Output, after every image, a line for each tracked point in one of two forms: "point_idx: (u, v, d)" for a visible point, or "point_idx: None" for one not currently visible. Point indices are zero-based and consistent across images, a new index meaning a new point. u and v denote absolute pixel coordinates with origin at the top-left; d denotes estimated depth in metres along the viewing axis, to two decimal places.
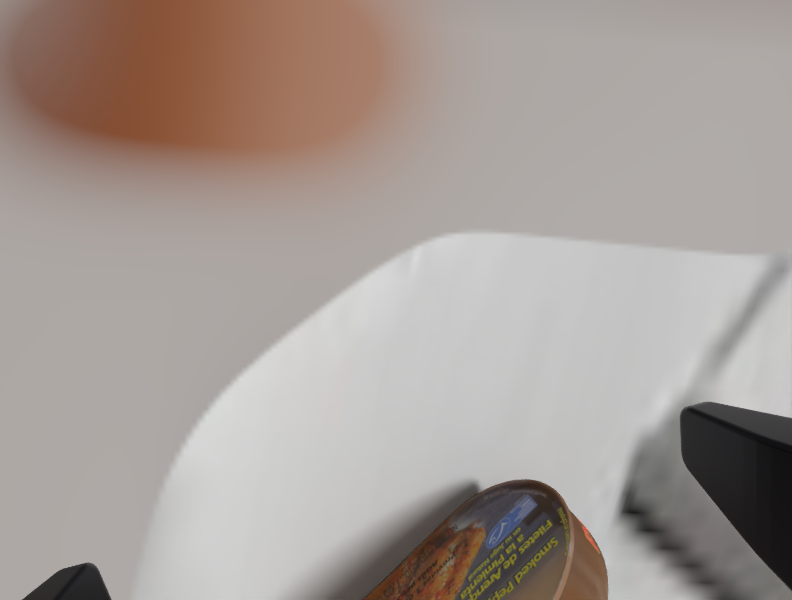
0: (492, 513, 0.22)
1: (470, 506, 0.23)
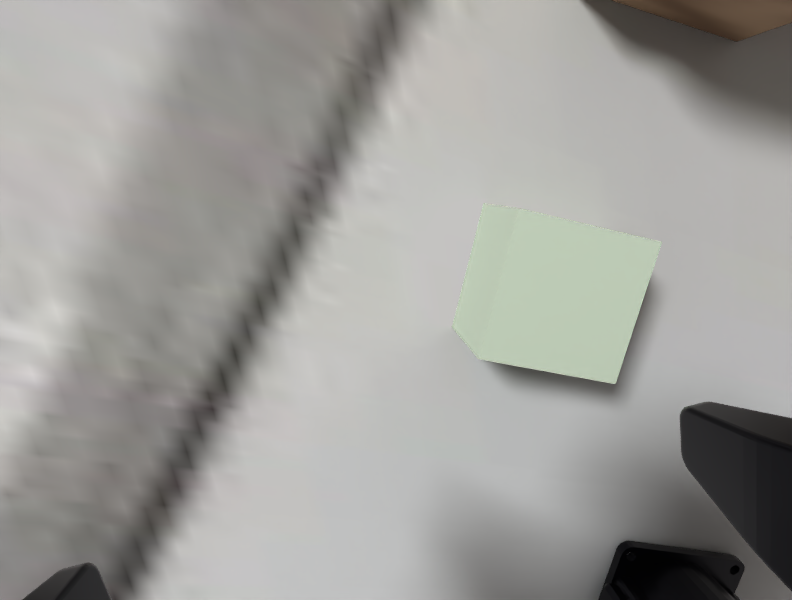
0: None
1: None
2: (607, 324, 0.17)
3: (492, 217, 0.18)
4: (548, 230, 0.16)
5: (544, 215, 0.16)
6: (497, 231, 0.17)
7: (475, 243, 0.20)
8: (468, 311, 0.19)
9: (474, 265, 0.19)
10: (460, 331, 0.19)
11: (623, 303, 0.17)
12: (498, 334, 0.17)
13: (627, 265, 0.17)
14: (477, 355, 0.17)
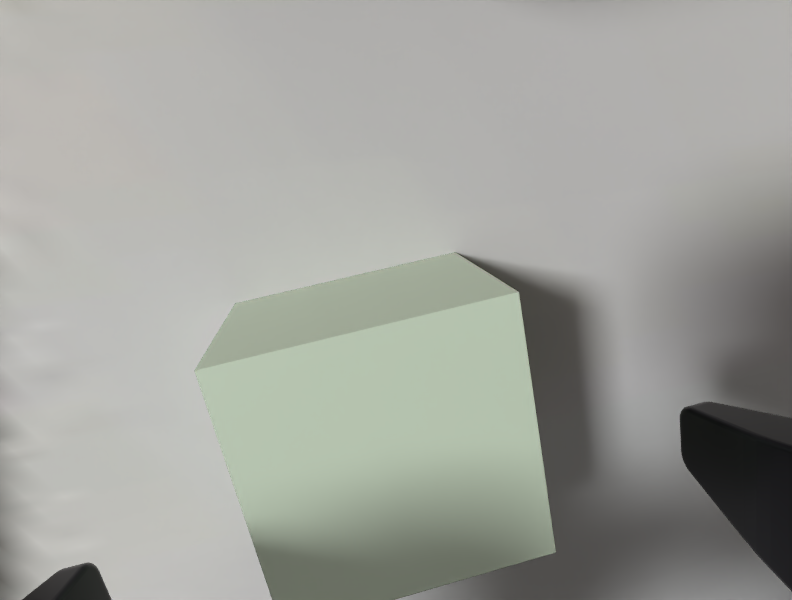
0: None
1: None
2: (487, 473, 0.09)
3: None
4: (279, 380, 0.08)
5: (252, 360, 0.08)
6: None
7: None
8: None
9: None
10: None
11: (500, 427, 0.09)
12: (294, 582, 0.09)
13: (471, 364, 0.08)
14: None
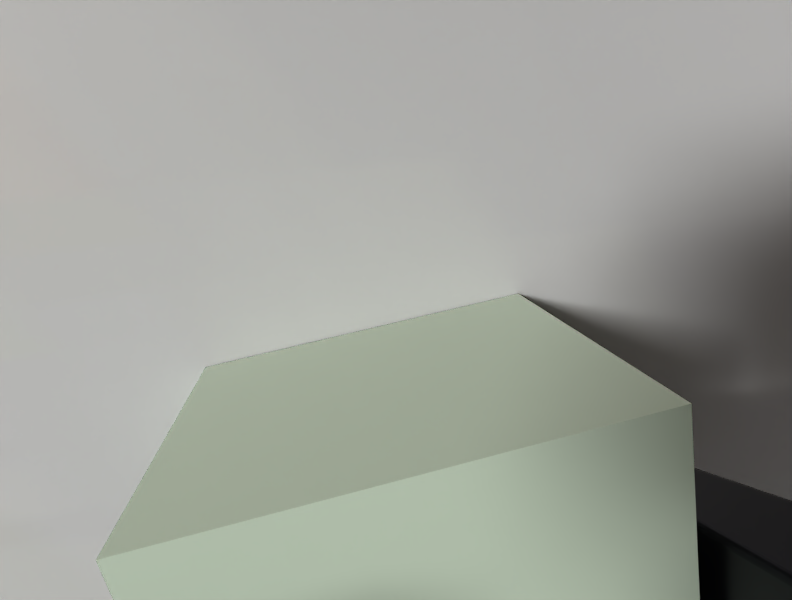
0: None
1: None
2: None
3: None
4: (256, 569, 0.04)
5: (206, 538, 0.04)
6: None
7: None
8: None
9: None
10: None
11: None
12: None
13: (600, 526, 0.05)
14: None
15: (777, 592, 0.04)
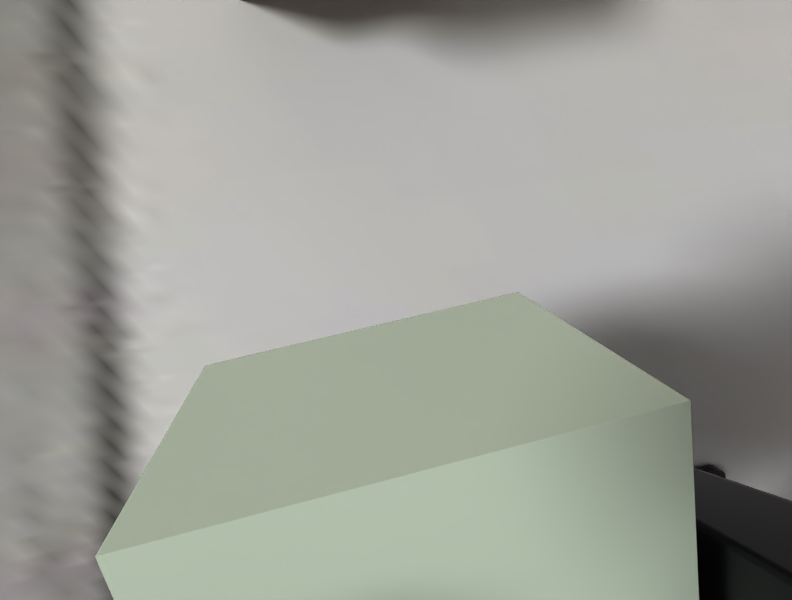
0: None
1: None
2: None
3: None
4: (254, 566, 0.04)
5: (205, 535, 0.04)
6: None
7: None
8: None
9: None
10: None
11: None
12: None
13: (599, 523, 0.05)
14: None
15: (777, 592, 0.04)
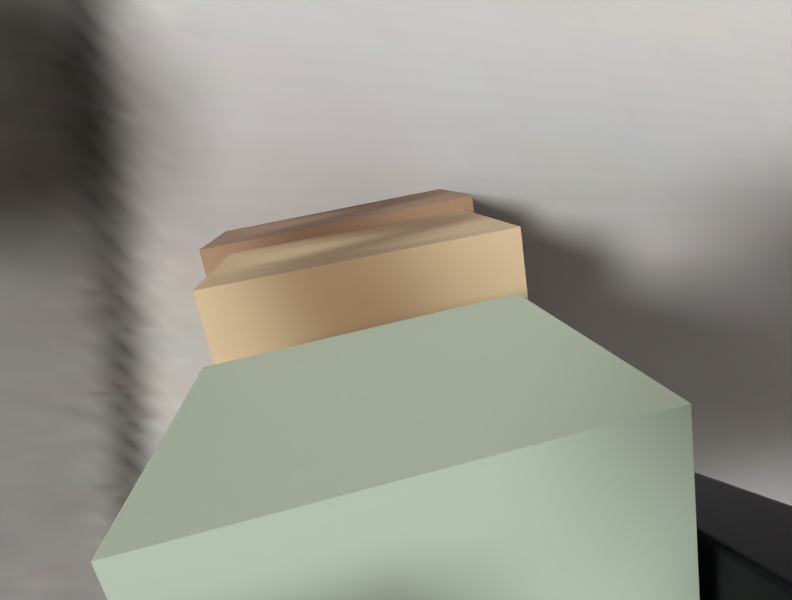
0: None
1: None
2: None
3: None
4: (252, 570, 0.04)
5: (201, 539, 0.04)
6: None
7: None
8: None
9: None
10: None
11: None
12: None
13: (599, 527, 0.05)
14: None
15: (768, 595, 0.04)
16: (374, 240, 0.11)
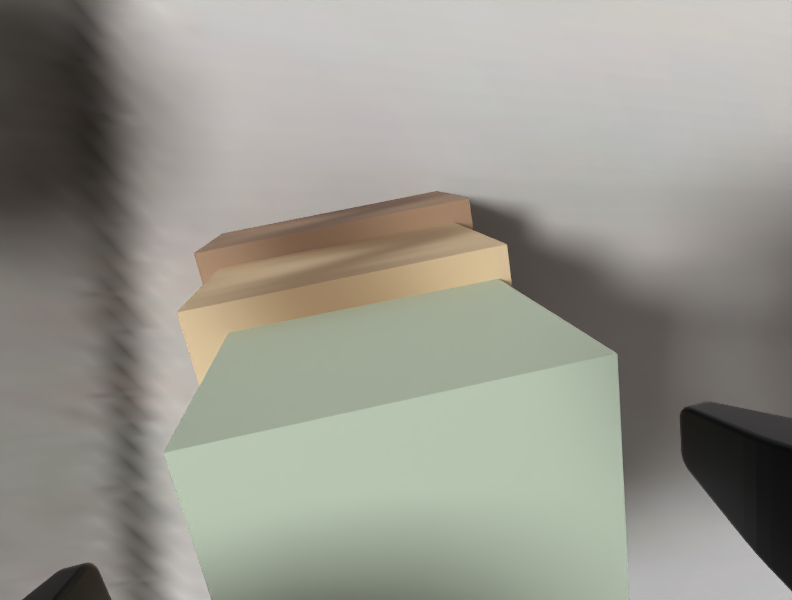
0: None
1: None
2: (555, 588, 0.07)
3: None
4: (282, 466, 0.06)
5: (246, 440, 0.05)
6: None
7: None
8: None
9: None
10: None
11: (576, 530, 0.06)
12: None
13: (546, 447, 0.06)
14: None
15: None
16: (361, 256, 0.11)
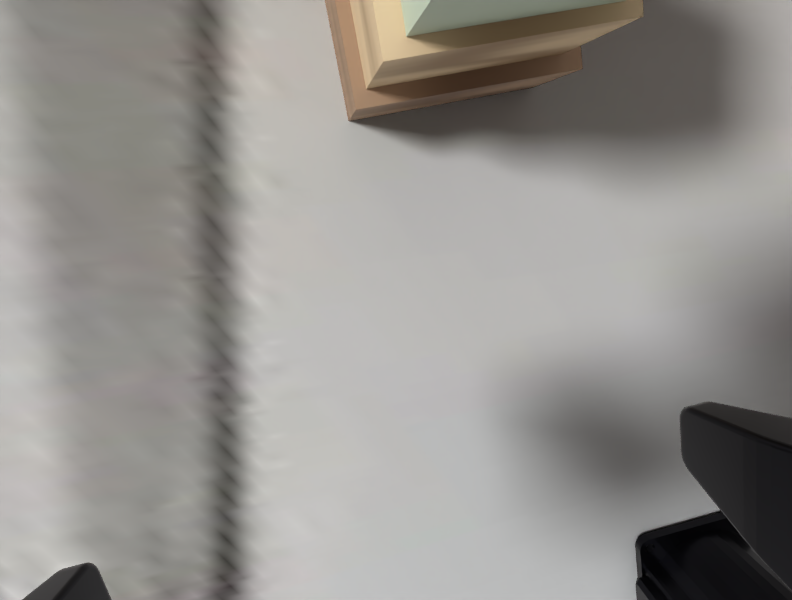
0: None
1: None
2: None
3: None
4: None
5: None
6: None
7: None
8: None
9: None
10: (416, 8, 0.10)
11: None
12: None
13: None
14: None
15: None
16: None
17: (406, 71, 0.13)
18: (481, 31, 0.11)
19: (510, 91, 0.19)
